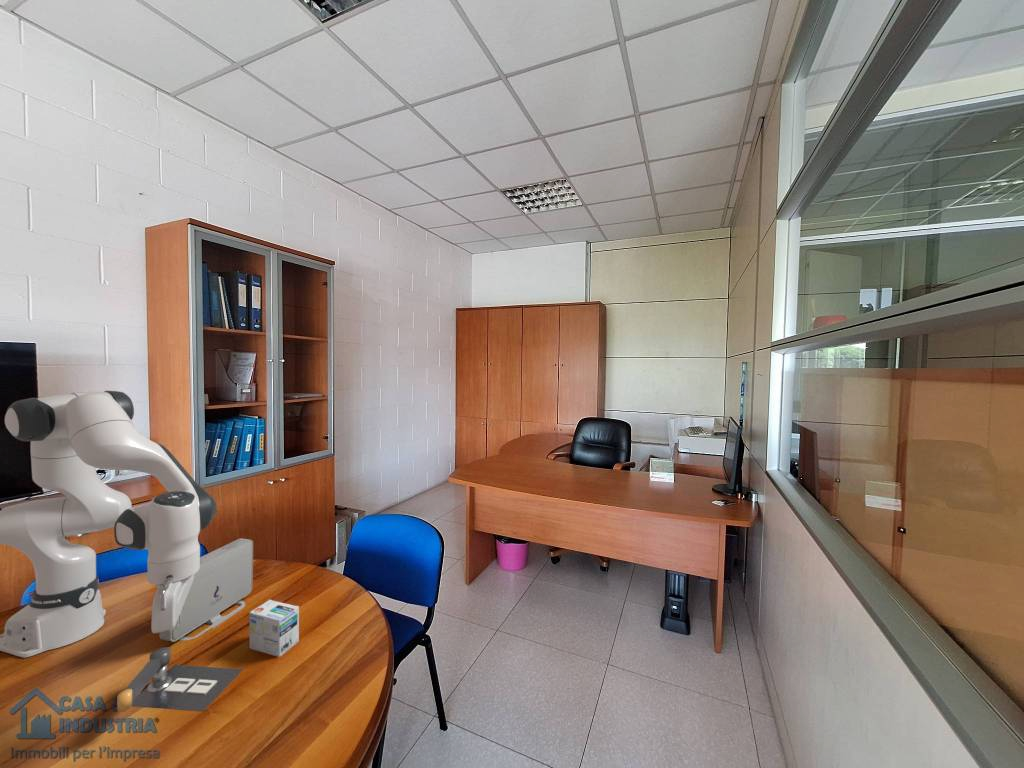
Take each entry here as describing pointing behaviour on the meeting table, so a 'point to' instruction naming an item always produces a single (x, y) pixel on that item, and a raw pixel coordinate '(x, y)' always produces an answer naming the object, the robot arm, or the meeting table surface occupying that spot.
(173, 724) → the meeting table surface
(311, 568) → the meeting table surface
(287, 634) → the light bulb box
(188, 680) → the psu label
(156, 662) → the dark grey lever handle
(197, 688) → the white flat rectangle
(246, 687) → the meeting table surface
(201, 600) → the network device
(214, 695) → the dark grey flat plate
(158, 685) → the pivot post
